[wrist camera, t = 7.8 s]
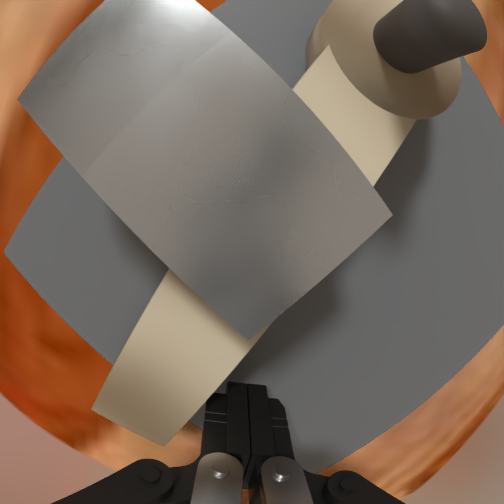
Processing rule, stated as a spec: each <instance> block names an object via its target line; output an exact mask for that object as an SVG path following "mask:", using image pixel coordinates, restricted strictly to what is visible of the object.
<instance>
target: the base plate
mask: <svg viewBox="0 0 504 504" xmlns="http://www.w3.org/2000/svg"><path fill="white" fill-rule="evenodd" d="M331 2H332V0H227V1H226V2H224V3H223V4H221V5H220V6H218V7H217V8H216V9H214V10H213V11H211V12H210V13H211V14H212V15H213V16H215V17H216V18H217V19H218V20H219V21H221V22H222V23H223V24H224V25H225V26H226V27H228V28H229V29H230V30H231V31H232V32H233V33H234V34H236V35H237V36H238V37H239V38H240V39H241V40H242V41H243V42H244V43H246V44H247V45H248V46H249V47H250V48H251V49H252V50H253V51H254V52H255V53H256V54H257V55H258V56H259V57H261V58H262V59H263V60H264V61H265V62H266V63H267V64H268V65H269V66H270V67H271V68H272V69H273V70H274V71H275V72H276V73H277V74H278V75H279V76H280V77H281V78H282V79H283V80H284V81H285V82H286V83H287V84H288V86H289V87H290V88H291V89H293V87H294V86H295V85H296V84H297V82H298V81H299V80H300V78H301V77H302V76H303V75H304V73H305V72H306V71H307V69H308V68H307V63H306V46H307V42H308V38H309V36H310V34H311V32H312V30H313V29H314V27H315V26H316V24H317V23H318V21H319V20H320V18H321V16H322V15H323V13H324V12H325V10H326V9H327V7H328V6H329V5H330V3H331ZM460 61H461V84H460V88H459V92H458V94H457V96H456V98H455V100H454V101H453V103H452V104H451V105H450V106H449V108H448V109H447V110H445V111H444V112H442V113H441V114H439V115H437V116H435V117H431V118H428V119H421V120H416V122H415V123H414V125H413V127H412V128H411V130H410V131H409V133H408V135H407V136H406V138H405V139H404V141H403V142H402V144H401V145H400V147H399V149H398V150H397V152H396V153H395V155H394V156H393V158H392V159H391V161H390V162H389V164H388V165H387V167H386V168H385V170H384V171H383V173H382V174H381V176H380V177H379V179H378V180H377V182H376V183H375V185H374V186H373V187H374V189H375V190H376V191H377V193H378V194H379V196H380V197H381V198H382V200H383V201H384V203H385V204H386V206H387V207H388V208H389V210H390V211H391V213H392V214H393V215H392V216H391V217H390V218H389V219H388V220H387V221H386V222H385V223H384V224H383V225H382V226H381V227H380V228H379V229H378V230H376V231H375V232H374V233H373V234H372V235H371V236H370V237H369V238H368V239H367V240H366V241H365V242H364V243H362V244H361V245H360V246H359V247H358V248H357V249H356V250H355V251H354V252H353V253H351V254H350V255H349V256H348V257H347V258H346V259H345V260H344V261H343V262H341V263H340V264H339V265H338V266H337V267H336V268H335V269H334V270H332V271H331V272H330V273H329V274H328V275H327V276H326V277H324V278H323V279H322V280H321V281H320V282H319V283H318V284H316V285H315V286H314V287H313V288H312V289H311V290H309V291H308V292H307V293H306V294H305V295H304V296H302V297H301V298H300V299H299V300H298V301H296V302H295V303H294V304H293V305H292V306H290V307H289V308H288V309H287V310H286V311H284V312H283V313H282V314H281V315H280V316H278V317H277V318H276V319H275V320H274V321H273V322H272V323H271V325H270V326H269V327H268V328H267V330H266V331H265V332H264V333H263V335H262V336H261V337H260V338H259V339H258V341H257V342H256V343H255V344H254V346H253V347H252V348H251V349H250V350H249V352H248V353H247V354H246V355H245V356H244V358H243V359H242V360H241V361H240V362H239V363H238V365H237V366H236V367H235V368H234V369H233V371H232V372H231V373H230V374H229V375H228V376H227V378H226V379H225V380H224V381H223V382H222V383H221V385H220V386H219V387H218V388H217V389H216V390H215V391H214V392H215V393H223V394H225V392H226V386H227V382H228V381H230V382H239V383H246V384H247V383H249V384H259V385H266V387H267V394H268V398H276V399H279V401H280V402H281V403H282V405H283V406H284V407H285V411H286V416H287V421H288V428H289V432H290V437H291V442H292V448H293V453H294V457H295V460H296V462H298V463H299V464H300V465H301V467H302V468H303V469H304V470H306V471H308V472H310V473H313V474H316V473H318V472H320V471H322V470H324V469H326V468H327V467H329V466H331V465H333V464H335V463H336V462H338V461H340V460H342V459H343V458H345V457H347V456H348V455H350V454H352V453H353V452H355V451H356V450H358V449H360V448H361V447H363V446H364V445H366V444H367V443H369V442H371V441H372V440H374V439H375V438H377V437H378V436H379V435H381V434H382V433H384V432H385V431H387V430H388V429H390V428H391V427H392V426H394V425H395V424H396V423H398V422H399V421H401V420H402V419H403V418H405V417H406V416H407V415H408V414H410V413H411V412H412V411H414V410H415V409H416V408H417V407H419V406H420V405H421V404H422V403H424V402H425V401H426V400H427V399H429V398H430V397H431V396H432V395H433V394H434V393H436V392H437V391H438V390H439V389H440V388H441V387H443V386H444V385H445V384H446V383H447V382H448V381H449V380H450V379H451V378H452V377H454V376H455V375H456V374H457V373H458V372H459V371H460V370H461V369H462V368H463V367H464V366H465V365H466V364H467V363H468V362H469V361H470V360H471V359H472V358H473V357H474V356H475V355H476V354H477V353H478V352H479V351H480V350H481V349H482V348H483V347H484V346H485V345H486V344H487V343H488V341H489V340H490V339H491V338H492V337H493V336H494V335H495V334H496V333H497V331H498V330H499V329H500V328H501V327H502V326H503V324H504V127H503V125H502V122H501V120H500V118H499V116H498V114H497V113H496V111H495V109H494V107H493V105H492V103H491V101H490V99H489V98H488V96H487V94H486V92H485V90H484V89H483V87H482V85H481V84H480V82H479V80H478V79H477V77H476V75H475V74H474V72H473V71H472V69H471V67H470V66H469V64H468V63H467V61H466V60H465V58H464V57H463V56H461V57H460ZM4 253H5V254H6V256H7V257H8V258H9V260H10V261H11V262H12V263H13V264H14V266H15V267H16V268H17V269H18V271H19V272H20V273H21V274H22V275H23V276H24V278H25V279H26V280H27V281H28V282H29V283H30V285H31V286H32V287H33V288H34V289H35V290H36V291H37V292H38V294H39V295H40V296H41V297H42V298H43V299H44V300H45V301H46V302H47V303H48V304H49V305H50V306H51V307H52V308H53V310H54V311H55V312H56V313H57V314H58V315H59V316H60V317H61V318H62V319H63V320H64V321H65V322H66V323H67V324H68V325H69V326H70V327H71V328H72V329H73V330H75V331H76V332H77V333H78V334H79V335H80V336H81V337H82V338H83V339H84V340H85V341H86V342H87V343H88V344H90V345H91V346H92V347H93V348H94V349H95V350H96V351H97V352H98V353H100V354H101V355H102V356H103V357H104V358H105V359H107V360H108V361H109V362H110V363H111V364H112V365H114V363H115V361H116V360H117V358H118V356H119V354H120V352H121V350H122V349H123V347H124V345H125V343H126V341H127V340H128V338H129V336H130V334H131V333H132V331H133V329H134V327H135V325H136V324H137V322H138V320H139V318H140V317H141V315H142V313H143V312H144V310H145V308H146V306H147V305H148V303H149V301H150V300H151V298H152V296H153V295H154V293H155V291H156V289H157V288H158V286H159V284H160V283H161V281H162V279H163V278H164V276H165V275H166V273H167V271H168V270H169V267H168V266H167V265H166V264H165V263H164V262H163V261H162V260H161V259H160V258H159V257H158V256H157V255H155V254H154V253H153V252H152V251H151V250H150V249H149V248H148V246H147V245H146V244H145V243H144V242H143V241H142V240H141V239H140V238H139V237H138V236H137V235H136V234H135V233H134V232H133V231H132V230H131V229H130V228H129V227H128V226H127V225H126V224H125V223H124V222H123V221H122V220H121V219H120V218H119V217H118V216H117V215H116V213H115V212H114V211H113V210H112V209H111V208H110V207H109V206H108V205H107V204H106V203H105V202H104V201H103V200H102V198H101V197H100V196H99V195H98V194H97V193H96V192H95V191H94V190H93V189H92V188H91V186H90V185H89V184H88V183H87V182H86V181H85V180H84V179H83V178H82V176H81V175H80V174H79V173H78V172H77V171H76V170H75V168H74V167H73V166H72V165H71V164H70V163H69V162H68V160H67V159H66V158H65V157H64V156H63V158H62V159H61V160H60V162H59V163H58V164H57V166H56V167H55V169H54V170H53V171H52V173H51V174H50V176H49V177H48V179H47V180H46V182H45V183H44V184H43V186H42V187H41V189H40V190H39V192H38V194H37V195H36V197H35V198H34V200H33V201H32V203H31V205H30V206H29V208H28V209H27V211H26V213H25V214H24V216H23V218H22V219H21V221H20V223H19V225H18V226H17V228H16V230H15V232H14V234H13V235H12V237H11V239H10V241H9V243H8V245H7V247H6V248H5V250H4ZM205 408H206V402H205V403H204V404H203V405H202V406H201V407H200V408H199V409H198V411H197V412H196V413H195V414H194V415H193V416H192V417H191V418H190V419H189V420H188V421H189V422H191V423H192V424H194V425H195V426H197V427H199V428H200V429H202V430H203V424H204V416H205Z"/></svg>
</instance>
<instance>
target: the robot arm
mask: <svg viewBox="0 0 504 504" xmlns="http://www.w3.org/2000/svg"><path fill="white" fill-rule="evenodd" d="M242 489H248V490H249V499H248V501H247V504H405V503H403V502H402V501H400V500H398V499H397V498H395V497H393V496H392V495H390V494H388V493H387V492H385V491H384V490H382V489H380V488H379V487H377V486H376V485H374V484H373V483H371V482H370V481H368V480H366V479H365V478H363V477H362V476H360V475H359V474H357V473H355V472H352V471H339V472H336V473H334V474H333V475H332V476H331V477H327V476H322V475H317V474H313V473H310V472H308V471H306V470H304V469H303V468H302V467H301V465H300V464H299V463H298V462H296V460H295V457H294V453H293V448H292V442H291V437H290V432H289V428H288V421H287V416H286V411H285V407H284V406H283V405H282V403H281V402H280V401H279V399H276V398H268V394H267V387H266V385H259V384H249V383H247V384H246V383H239V382H230V381H228V382H227V386H226V392H225V394H223V393H215V392H214V393H213V394H212V395H211V396H210V397H209V398H208V399H207V400H206V408H205V416H204V424H203V433H202V443H201V453H200V456H199V457H198V459H197V460H196V461H194V462H193V463H191V464H189V465H186V466H181V467H171V468H169V467H168V466H167V465H165V464H164V463H162V462H160V461H158V460H154V459H141V460H138V461H136V462H134V463H132V464H130V465H128V466H127V467H125V468H123V469H121V470H119V471H117V472H116V473H114V474H112V475H110V476H108V477H106V478H104V479H102V480H100V481H98V482H96V483H94V484H92V485H90V486H88V487H86V488H84V489H82V490H80V491H78V492H76V493H74V494H72V495H69V496H67V497H65V498H63V499H61V500H58V501H56V502H54V503H52V504H241V498H242Z"/></svg>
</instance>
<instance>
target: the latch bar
mask: <svg viewBox="0 0 504 504" xmlns="http://www.w3.org/2000/svg"><path fill="white" fill-rule="evenodd" d="M486 40H487V31H486V26H485V23H484V20H483V18H482V16H481V14H480V12H479V10H478V9H477V7H476V6H475V4H474V3H473V2H472V1H471V0H332V2H331V3H330V5H329V6H328V7H327V9H326V10H325V12H324V13H323V15H322V16H321V18H320V20H319V21H318V23H317V24H316V26H315V27H314V29H313V30H312V32H311V34H310V36H309V38H308V42H307V46H306V63H307V68H308V69H307V71H306V72H305V73H304V75H303V76H302V77H301V78H300V80H299V81H298V82H297V84H296V85H295V86H294V87H293V89H292V90H293V91H294V92H295V93H296V94H297V95H298V96H299V97H300V98H301V99H302V100H303V102H304V103H305V104H306V105H307V106H308V107H309V108H310V109H311V110H312V112H313V113H314V114H315V115H316V116H317V117H318V118H319V119H320V121H321V122H322V123H323V124H324V125H325V126H326V128H327V129H328V130H329V131H330V132H331V134H332V135H333V136H334V137H335V138H336V140H337V141H338V142H339V143H340V144H341V146H342V147H343V148H344V149H345V151H346V152H347V153H348V154H349V156H350V157H351V158H352V159H353V161H354V162H355V163H356V165H357V166H358V167H359V169H360V170H361V171H362V172H363V174H364V175H365V176H366V178H367V179H368V180H369V182H370V183H371V185H372V186H374V185H375V183H376V182H377V180H378V179H379V177H380V176H381V174H382V173H383V171H384V170H385V168H386V167H387V165H388V164H389V162H390V161H391V159H392V158H393V156H394V155H395V153H396V152H397V150H398V149H399V147H400V145H401V144H402V142H403V141H404V139H405V138H406V136H407V135H408V133H409V131H410V130H411V128H412V127H413V125H414V123H415V122H416V120H421V119H428V118H431V117H435V116H437V115H439V114H441V113H442V112H444V111H445V110H447V109H448V108H449V106H450V105H451V104H452V103H453V101H454V100H455V98H456V96H457V94H458V92H459V88H460V84H461V61H460V57H461V56H464V55H467V54H470V53H473V52H476V51H479V50H481V49H482V48H483V47H484V46H485V44H486ZM273 321H274V320H273ZM273 321H272V322H273ZM272 322H271V323H272ZM271 323H270V324H268V325H267V326H266V327H265V328H264V329H262V330H261V331H260V332H259V333H257V334H256V335H255V336H254V337H252V338H251V339H250V340H247V339H246V338H244V337H243V336H242V335H241V334H240V333H239V332H238V331H236V330H235V329H234V328H233V327H232V326H231V325H230V324H229V323H228V322H226V321H225V320H224V319H223V318H222V317H221V316H220V315H219V314H218V313H216V312H215V311H214V310H213V309H212V308H211V307H210V306H209V305H208V304H207V303H206V302H204V301H203V300H202V299H201V298H200V297H199V296H198V295H197V294H196V293H195V292H194V291H193V290H192V289H191V288H190V287H188V286H187V285H186V284H185V283H184V282H183V281H182V280H181V279H180V278H179V277H178V276H177V275H176V274H175V273H174V272H173V271H172V270H171V269H170V268H169V270H168V271H167V273H166V275H165V276H164V278H163V279H162V281H161V283H160V284H159V286H158V288H157V289H156V291H155V293H154V295H153V296H152V298H151V300H150V301H149V303H148V305H147V306H146V308H145V310H144V312H143V313H142V315H141V317H140V318H139V320H138V322H137V324H136V325H135V327H134V329H133V331H132V333H131V334H130V336H129V338H128V340H127V341H126V343H125V345H124V347H123V349H122V350H121V352H120V354H119V356H118V358H117V360H116V361H115V363H114V365H113V367H112V369H111V371H110V373H109V375H108V377H107V379H106V381H105V383H104V385H103V386H102V389H101V391H100V393H99V395H98V397H97V399H96V401H95V403H94V405H93V407H92V409H91V410H93V411H95V412H96V413H98V414H100V415H102V416H103V417H105V418H107V419H109V420H111V421H113V422H114V423H116V424H118V425H120V426H122V427H124V428H126V429H128V430H130V431H132V432H134V433H136V434H138V435H140V436H142V437H144V438H146V439H148V440H151V441H153V442H155V443H157V444H159V445H162V446H165V445H166V444H167V443H168V442H169V441H170V440H171V439H172V438H173V437H174V436H175V435H176V434H177V432H178V431H179V430H180V429H181V428H182V427H183V426H184V425H185V424H186V423H187V422H188V420H189V419H190V418H191V417H192V416H193V415H194V414H195V413H196V412H197V411H198V409H199V408H200V407H201V406H202V405H203V404H204V403H205V402H206V400H207V399H208V398H209V397H210V396H211V395H212V394H213V393H214V391H215V390H216V389H217V388H218V387H219V386H220V385H221V383H222V382H223V381H224V380H225V379H226V378H227V376H228V375H229V374H230V373H231V372H232V371H233V369H234V368H235V367H236V366H237V365H238V363H239V362H240V361H241V360H242V359H243V358H244V356H245V355H246V354H247V353H248V352H249V350H250V349H251V348H252V347H253V346H254V344H255V343H256V342H257V341H258V339H259V338H260V337H261V336H262V335H263V333H264V332H265V331H266V330H267V328H268V327H269V326H270V325H271Z"/></svg>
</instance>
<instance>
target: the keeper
mask: <svg viewBox="0 0 504 504" xmlns="http://www.w3.org/2000/svg"><path fill="white" fill-rule="evenodd" d="M18 101H19V102H20V103H21V104H22V106H23V107H24V108H25V110H26V111H27V112H28V113H29V115H30V116H31V117H32V118H33V120H34V121H35V122H36V123H37V125H38V126H39V127H40V128H41V130H42V131H43V132H44V133H45V134H46V136H47V137H48V138H49V139H50V140H51V142H52V143H53V144H54V145H55V146H56V148H57V149H58V150H59V151H60V152H61V153H62V155H63V156H64V157H65V158H66V159H67V160H68V162H69V163H70V164H71V165H72V166H73V167H74V168H75V170H76V171H77V172H78V173H79V174H80V175H81V176H82V178H83V179H84V180H85V181H86V182H87V183H88V184H89V185H90V186H91V188H92V189H93V190H94V191H95V192H96V193H97V194H98V195H99V196H100V197H101V198H102V200H103V201H104V202H105V203H106V204H107V205H108V206H109V207H110V208H111V209H112V210H113V211H114V212H115V213H116V215H117V216H118V217H119V218H120V219H121V220H122V221H123V222H124V223H125V224H126V225H127V226H128V227H129V228H130V229H131V230H132V231H133V232H134V233H135V234H136V235H137V236H138V237H139V238H140V239H141V240H142V241H143V242H144V243H145V244H146V245H147V246H148V248H149V249H150V250H151V251H152V252H153V253H154V254H155V255H157V256H158V257H159V258H160V259H161V260H162V261H163V262H164V263H165V264H166V265H167V266H168V267H169V268H170V269H171V270H172V271H173V272H174V273H175V274H176V275H177V276H178V277H179V278H180V279H181V280H182V281H183V282H184V283H185V284H186V285H187V286H188V287H190V288H191V289H192V290H193V291H194V292H195V293H196V294H197V295H198V296H199V297H200V298H201V299H202V300H203V301H204V302H206V303H207V304H208V305H209V306H210V307H211V308H212V309H213V310H214V311H215V312H216V313H218V314H219V315H220V316H221V317H222V318H223V319H224V320H225V321H226V322H228V323H229V324H230V325H231V326H232V327H233V328H234V329H235V330H236V331H238V332H239V333H240V334H241V335H242V336H243V337H244V338H246V339H247V340H250V339H251V338H252V337H254V336H255V335H256V334H257V333H259V332H260V331H261V330H262V329H264V328H265V327H266V326H267V325H268V324H270V323H271V322H272V321H273V320H275V319H276V318H277V317H278V316H280V315H281V314H282V313H283V312H284V311H286V310H287V309H288V308H289V307H290V306H292V305H293V304H294V303H295V302H296V301H298V300H299V299H300V298H301V297H302V296H304V295H305V294H306V293H307V292H308V291H309V290H311V289H312V288H313V287H314V286H315V285H316V284H318V283H319V282H320V281H321V280H322V279H323V278H324V277H326V276H327V275H328V274H329V273H330V272H331V271H332V270H334V269H335V268H336V267H337V266H338V265H339V264H340V263H341V262H343V261H344V260H345V259H346V258H347V257H348V256H349V255H350V254H351V253H353V252H354V251H355V250H356V249H357V248H358V247H359V246H360V245H361V244H362V243H364V242H365V241H366V240H367V239H368V238H369V237H370V236H371V235H372V234H373V233H374V232H375V231H376V230H378V229H379V228H380V227H381V226H382V225H383V224H384V223H385V222H386V221H387V220H388V219H389V218H390V217H391V216H392V215H393V214H392V213H391V211H390V210H389V208H388V207H387V206H386V204H385V203H384V201H383V200H382V198H381V197H380V196H379V194H378V193H377V191H376V190H375V189H374V187H373V186H372V185H371V183H370V182H369V180H368V179H367V178H366V176H365V175H364V174H363V172H362V171H361V170H360V169H359V167H358V166H357V165H356V163H355V162H354V161H353V159H352V158H351V157H350V156H349V154H348V153H347V152H346V151H345V149H344V148H343V147H342V146H341V144H340V143H339V142H338V141H337V140H336V138H335V137H334V136H333V135H332V134H331V132H330V131H329V130H328V129H327V128H326V126H325V125H324V124H323V123H322V122H321V121H320V119H319V118H318V117H317V116H316V115H315V114H314V113H313V112H312V110H311V109H310V108H309V107H308V106H307V105H306V104H305V103H304V102H303V100H302V99H301V98H300V97H299V96H298V95H297V94H296V93H295V92H294V91H293V90H292V89H291V88H290V87H289V86H288V84H287V83H286V82H285V81H284V80H283V79H282V78H281V77H280V76H279V75H278V74H277V73H276V72H275V71H274V70H273V69H272V68H271V67H270V66H269V65H268V64H267V63H266V62H265V61H264V60H263V59H262V58H261V57H259V56H258V55H257V54H256V53H255V52H254V51H253V50H252V49H251V48H250V47H249V46H248V45H247V44H246V43H244V42H243V41H242V40H241V39H240V38H239V37H238V36H237V35H236V34H234V33H233V32H232V31H231V30H230V29H229V28H228V27H226V26H225V25H224V24H223V23H222V22H221V21H219V20H218V19H217V18H216V17H215V16H213V15H212V14H211V13H210V12H208V11H207V10H206V9H205V8H203V7H202V6H201V5H200V4H198V3H197V2H196V1H195V0H106V1H104V2H103V3H102V4H101V5H100V6H99V7H98V8H97V9H95V10H94V11H93V12H92V13H91V14H90V15H89V16H88V17H87V18H86V19H85V20H84V21H83V22H82V23H81V24H80V25H79V26H78V27H77V28H76V29H75V30H74V31H73V32H72V33H71V34H70V35H69V36H68V37H67V38H66V39H65V40H64V42H63V43H62V44H61V45H60V46H59V47H58V48H57V49H56V50H55V52H54V53H53V54H52V55H51V56H50V57H49V59H48V60H47V61H46V62H45V63H44V65H43V66H42V67H41V68H40V69H39V71H38V72H37V73H36V75H35V76H34V77H33V78H32V80H31V81H30V82H29V84H28V85H27V86H26V88H25V89H24V90H23V92H22V93H21V95H20V96H19V98H18Z"/></svg>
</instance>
